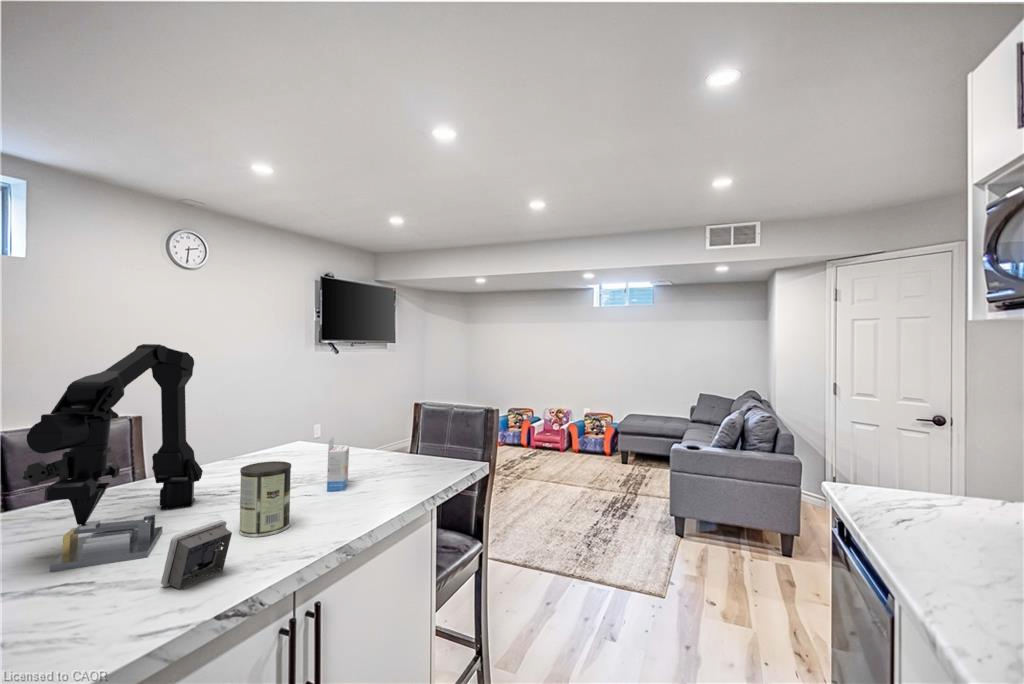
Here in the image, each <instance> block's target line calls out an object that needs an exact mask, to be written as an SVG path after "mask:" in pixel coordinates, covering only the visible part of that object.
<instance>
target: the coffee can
mask: <svg viewBox="0 0 1024 684" xmlns="http://www.w3.org/2000/svg"><path fill="white" fill-rule="evenodd" d="M291 469H292V464H291V463H290V462H288V461H280V460H279V461H277V460H275V461H274V460H273V461H261V462H256V463H251V464H247V465H244V466H242V467H241V468H240V470H239V471H240V494H239V495H240V497H239V499H240V500H239V501H240V503H239V530H238V532H239V535H241V536H243V537H249V538H262V537H267V536H273V535H276V534H279V533H282V532H284V531H285V530H287V529H289V527H290V525H291V522H290V520H291V519H290V512H291V511H290V510H291V509H290V508H291V507H290V506H291V472H292V471H291Z"/></svg>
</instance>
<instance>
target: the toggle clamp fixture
mask: <svg viewBox="0 0 1024 684" xmlns="http://www.w3.org/2000/svg"><path fill="white" fill-rule="evenodd" d="M149 517H150V518H152V519H153V521H152V523H151V522H145V523H139V524H138V528H134V529H124V530H114V531H104V532H94V533H91V534H89V535H87V536H79V534H74V530H75V529H76V528H77V527H75V528H74V527H72V528H70V529H69V531H67V532H66V533H65V534H64V535H63V536H62V549H61V550H62V551H61V552H62V553H61V554H60V555H59V556H58V557H57V558H56V559H54V561H53V562H52V563H51V564H50V565H49V573H51V572H59V571H66V570H71V569H79V568H85V567H92V566H98V565H104V564H105V565H106V564H111V563H119V562H124V561H125V562H126V561H132V560H137V559H138V560H139V559H145V558H148V557H149V555H150V553H151V552H152V551H153V549H154V547H155V545H156V544H157V542H158V540H159V539H160V537H161V535H162V533H163V526H159V527H158V526H157V527H156V514H151V515H150V514H149V515H144V517H143V519H146V518H149Z"/></svg>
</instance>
